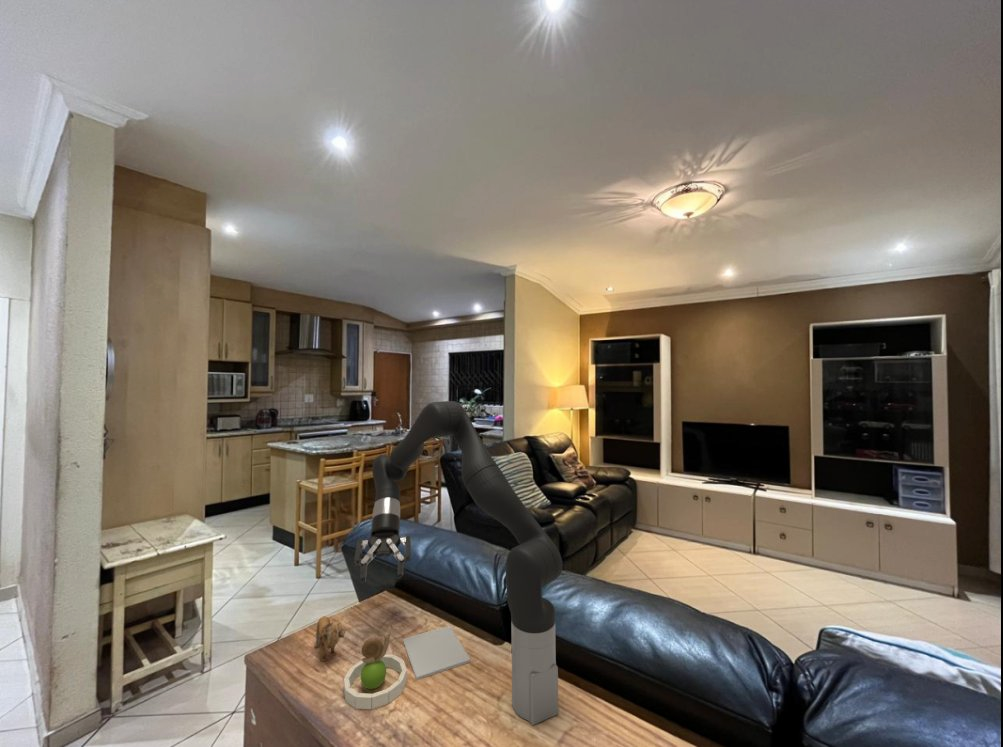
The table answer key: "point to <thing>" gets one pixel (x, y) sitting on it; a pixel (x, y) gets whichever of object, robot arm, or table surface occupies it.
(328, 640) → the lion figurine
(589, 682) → the table surface
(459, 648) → the rubber mat
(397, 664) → the ceramic ring
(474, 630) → the table surface
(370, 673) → the snail figurine
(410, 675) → the table surface
